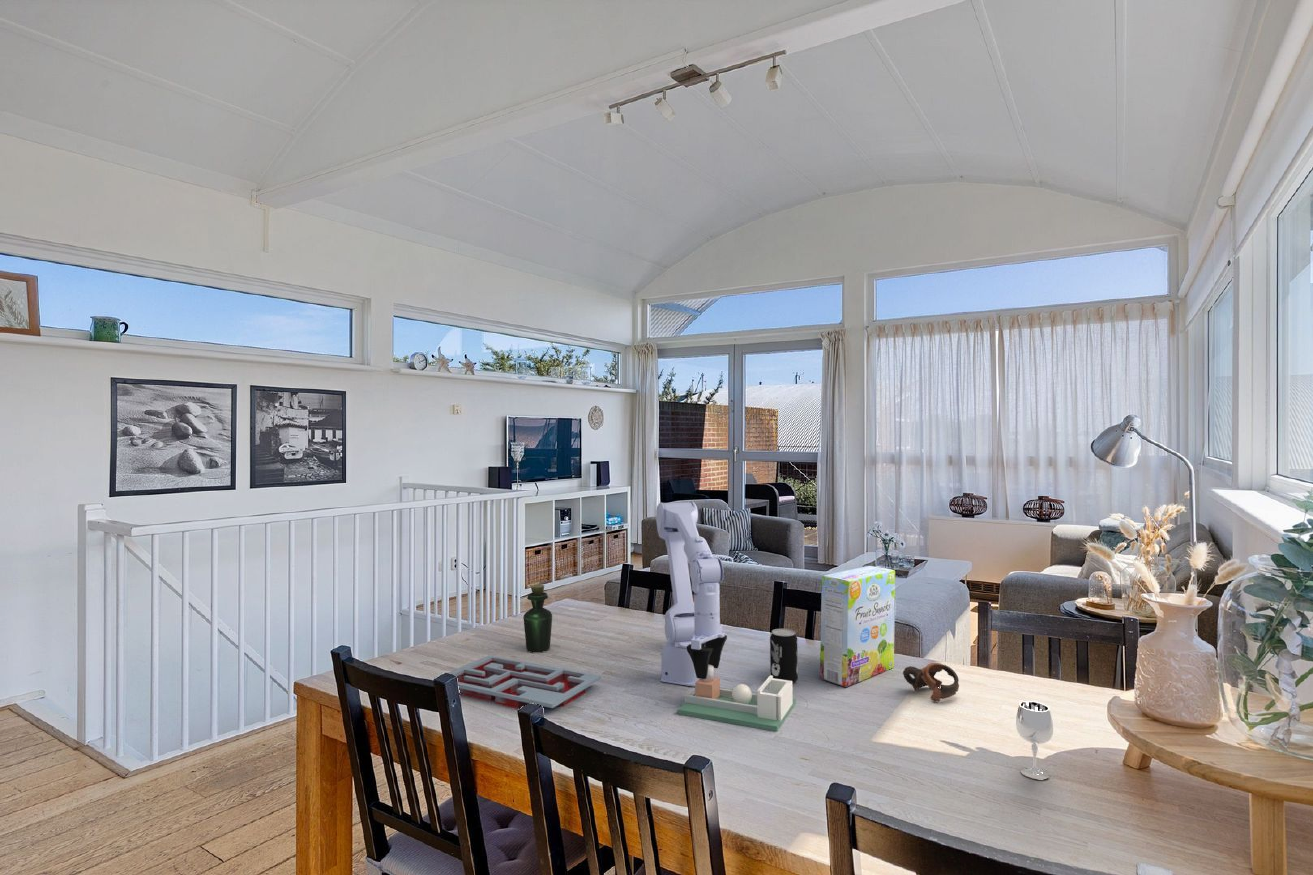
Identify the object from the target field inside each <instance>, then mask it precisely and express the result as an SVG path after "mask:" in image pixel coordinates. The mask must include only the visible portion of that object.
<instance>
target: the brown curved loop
mask: <svg viewBox="0 0 1313 875" xmlns="http://www.w3.org/2000/svg"><path fill="white" fill-rule="evenodd" d="M942 671H945V672H946V673H947V675H948V676H949V677H952V678H953V683H951V684H948V685H947V684H942V683H943V681H942V680H940V679H937V678H936V676H935V675H936V674H937V673H940V672H942ZM902 675H903V677H904V680H905V681H906V682H907V683H908V684H909V685H911V686H912V687H913V690H915V691H917V690H918V689H919V690H920V689H921V688H923V687H929V689H930V690H932V694H931V695H930V700H931V701H932V700H933V701H932V702H934V701H938V702H940V701H941V700H944V699H947V698H950V697H952V696H954V695H956V694H957V693H958V691H959V689H960V688H959V687H960V685H959V676H958V674H957V673H956V671H955V670H954V669H952V668H951V667H950V666H948V665H946V664H942V663H939V662H930V663H929V664H927V665H926V666H925V667H922V668H918V667H915V666H910V665H909V666H907V667H905V668H904V670H903V672H902ZM912 676H913V677H912ZM938 687H939V688H938Z"/></svg>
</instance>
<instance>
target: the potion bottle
mask: <svg viewBox="0 0 1313 875" xmlns="http://www.w3.org/2000/svg"><path fill="white" fill-rule="evenodd" d="M530 588H531V593H528V594H527V598H526V599H527V600H529V601H530V602H531V607H532V608H530V609H528V610H527V611H525V613H524V615H523V626H524V629H523V630H524V636H525V647H526V648H525V649H526V650H527V652H529V651H530V652H529V653H533V652H540V653H543V652H542V651H545V652H547V651H549V650H550V648H551V638H552V626H553V625H552V624H553V614H552V612H551V610H549V609H547V608H545V607H544V604H545V600H547V599H548V598H549V596H548V593H547V592H544V589H545V585H544V584H532V585H530Z"/></svg>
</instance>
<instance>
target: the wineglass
mask: <svg viewBox="0 0 1313 875" xmlns="http://www.w3.org/2000/svg"><path fill="white" fill-rule="evenodd" d="M1015 726H1016V731H1017V733H1018V735H1019V736H1020V737H1021V738H1022V739H1024V740H1025V741H1026V742H1029V743H1031V753H1032V758H1033V759H1032V760H1033V761H1032V767H1030V768H1031V769H1027V771H1028V773H1030V774H1032V775H1043V772H1041V771H1040V770H1041V769H1039V768H1038V767H1037V755H1038V754H1037V753H1038V751H1039V749H1038V748H1039V746H1038V745H1041V744H1045V743H1048V742H1049V741H1050V740H1051V739H1052V738H1053V735H1054V734H1053V733H1054V722H1053V716H1052V713H1051V710H1050V707H1049V706H1048V705H1046V704H1044V703H1041V702H1038V701H1032V700H1031V701H1028V700H1025V701H1020V702H1019V704H1018V708H1017V711H1016V717H1015ZM1038 769H1039V770H1038Z"/></svg>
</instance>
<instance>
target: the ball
mask: <svg viewBox="0 0 1313 875" xmlns="http://www.w3.org/2000/svg"><path fill="white" fill-rule="evenodd" d="M732 689H733V691H732V698H733V700H734V702H737V703H743V704H748V703H749V702H750V701H751V699H752V692H753V691H752V689H751V688H750V687H749V686H748V685H746V684H743V683H741V684H736V685H735V686H734V687H733V688H732Z"/></svg>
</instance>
